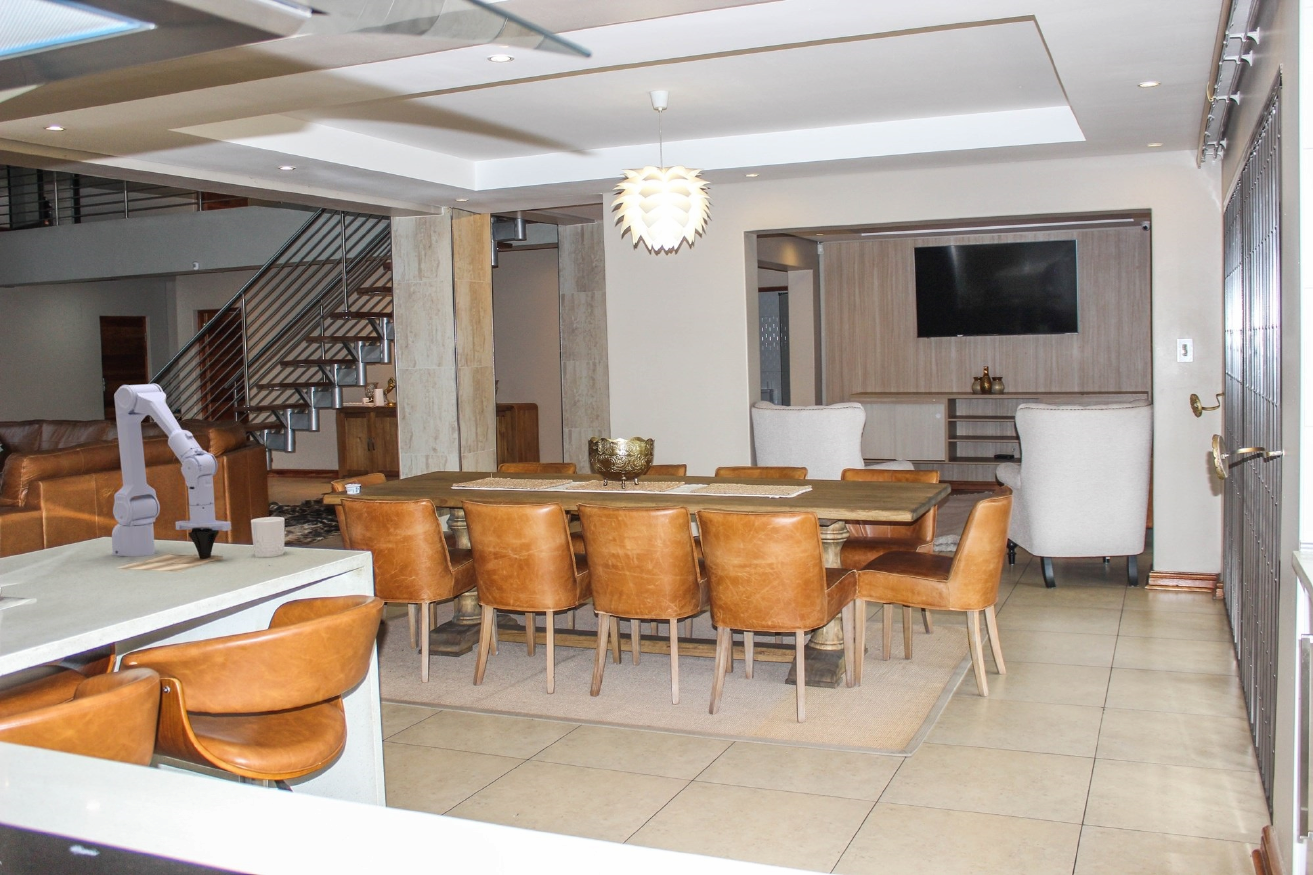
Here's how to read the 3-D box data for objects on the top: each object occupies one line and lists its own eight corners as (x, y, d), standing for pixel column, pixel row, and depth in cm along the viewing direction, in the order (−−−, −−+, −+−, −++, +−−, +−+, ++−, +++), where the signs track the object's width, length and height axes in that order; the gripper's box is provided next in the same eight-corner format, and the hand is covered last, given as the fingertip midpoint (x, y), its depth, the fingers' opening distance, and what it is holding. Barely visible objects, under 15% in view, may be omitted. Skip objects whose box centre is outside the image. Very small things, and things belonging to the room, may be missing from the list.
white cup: (291, 556, 286) (289, 516, 285) (278, 562, 278) (276, 521, 277) (261, 556, 287) (259, 516, 286) (247, 562, 279) (245, 522, 278)
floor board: (115, 573, 268) (114, 568, 268) (139, 566, 276) (139, 561, 276) (178, 576, 263) (178, 571, 263) (201, 569, 270) (201, 564, 270)
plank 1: (144, 566, 276) (143, 561, 276) (167, 559, 283) (166, 554, 283) (171, 567, 273) (171, 562, 273) (194, 560, 281) (193, 555, 281)
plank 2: (173, 567, 273) (172, 562, 273) (195, 559, 281) (195, 554, 281) (201, 569, 271) (200, 564, 271) (223, 560, 278) (222, 555, 278)
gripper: (165, 505, 274) (169, 561, 275) (216, 506, 270) (219, 563, 271) (185, 501, 281) (188, 556, 282) (235, 502, 277) (238, 557, 278)
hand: (205, 559), depth 277 cm, fingers closed, pressing on plank 2
